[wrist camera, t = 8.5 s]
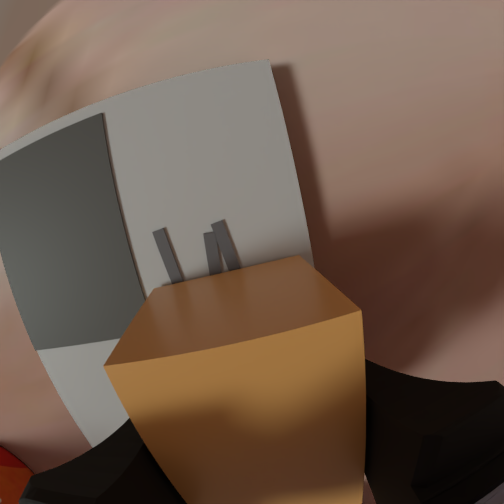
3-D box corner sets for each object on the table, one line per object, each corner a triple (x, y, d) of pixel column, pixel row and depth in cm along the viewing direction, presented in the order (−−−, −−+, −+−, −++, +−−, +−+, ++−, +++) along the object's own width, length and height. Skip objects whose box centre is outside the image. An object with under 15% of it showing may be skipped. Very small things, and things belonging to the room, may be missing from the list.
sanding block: (324, 425, 12) (361, 509, 7) (216, 449, 12) (217, 539, 7) (298, 255, 10) (361, 309, 5) (153, 288, 10) (103, 366, 5)
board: (332, 445, 14) (338, 458, 13) (126, 475, 13) (122, 488, 12) (265, 69, 10) (269, 58, 9) (-1, 159, 10) (-16, 158, 8)
